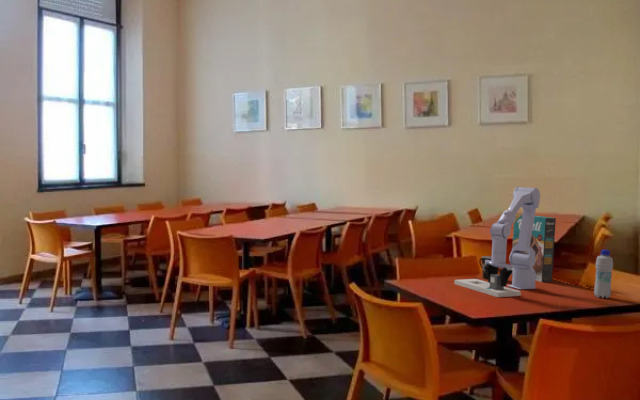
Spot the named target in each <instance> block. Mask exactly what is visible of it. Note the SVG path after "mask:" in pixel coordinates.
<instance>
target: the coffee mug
mask: <svg viewBox="0 0 640 400" xmlns="http://www.w3.org/2000/svg"><path fill="white" fill-rule="evenodd" d="M491 258H492V255H487V256H486V255H484V256H481V258H479V261H478V262H479V263H478V264H479V266H480V267H481V270H482V279H484V280H488V277H487V274H486V271H485V269H484V266H486V265H485V260H491ZM499 269H500V268H499V267H497V269H496V271H495V274H499Z"/></svg>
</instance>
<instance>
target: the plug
mask: <svg viewBox="0 0 640 400" xmlns="http://www.w3.org/2000/svg"><path fill="white" fill-rule="evenodd" d="M504 287H505V286H504ZM504 287H502V286H501V278H500V273H498V274H490V288H491V289H494V290H504Z"/></svg>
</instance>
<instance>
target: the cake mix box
mask: <svg viewBox="0 0 640 400" xmlns="http://www.w3.org/2000/svg"><path fill="white" fill-rule="evenodd" d="M515 215H516V219H515V221H514V223H513V233H512V244H511V245H512V248H513V247H515V246H516V245H518V241H519V234H520V228H521V222H522V215H523V213H516V214H515ZM556 219H557V218H556V217H549V216H541V215H535V217H534V223H533V230H532V236H531V242H530V247H531V248H532V249H533V250H534V251H535V264H534V266H533V267H532V268H533V269H534V270H535V273H536V278H535V282H536V281H537V282H540V283H541V282H542V283H549V282H552V280H553V269H554V267H553V266H554V251H555V238H556V237H555V234H556V222H557V221H556ZM512 248H511V249H512ZM522 253H528V252H522ZM512 270H513V267H512ZM511 275H513V272H512V273H511Z"/></svg>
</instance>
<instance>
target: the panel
mask: <svg viewBox="0 0 640 400" xmlns="http://www.w3.org/2000/svg"><path fill="white" fill-rule="evenodd" d="M454 285H457V286H460V287H463V288H467V289H469V290H473V291H476V292H479V293H482V294H486V295H488V296H492V297H496V298H506V297H519V296H520V297H521V294H522V292H521V290H519V289H517V290H516V289H515V288H511V287H508V286H507V287H506V286H504V290H494V289H491V288H490V283H489V282H488V281H487V280H486V281H485V280H482V279H478V278H467V279H466V278H465V279H464V278H463V279H454Z"/></svg>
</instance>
